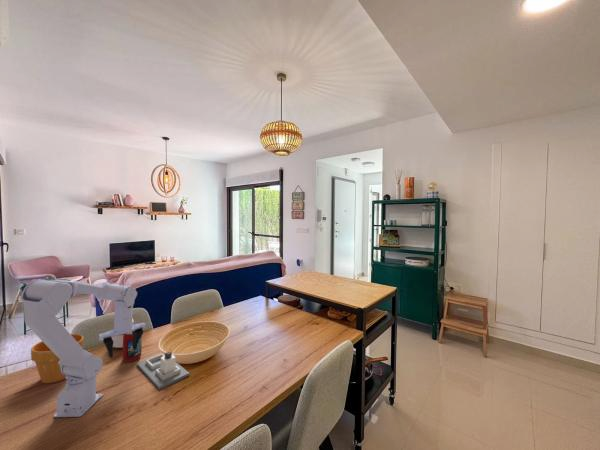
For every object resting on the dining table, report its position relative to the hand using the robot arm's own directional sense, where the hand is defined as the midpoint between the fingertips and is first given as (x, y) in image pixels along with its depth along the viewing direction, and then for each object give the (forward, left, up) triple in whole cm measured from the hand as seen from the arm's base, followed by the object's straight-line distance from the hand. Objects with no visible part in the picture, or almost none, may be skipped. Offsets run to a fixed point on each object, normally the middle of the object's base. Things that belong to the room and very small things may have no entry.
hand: (122, 352), depth 94 cm
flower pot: (+1, +24, -10) cm, 26 cm away
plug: (+1, -16, -8) cm, 19 cm away
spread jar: (+26, +14, -10) cm, 31 cm away
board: (+4, -13, -9) cm, 17 cm away
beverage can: (+13, +4, -10) cm, 17 cm away
